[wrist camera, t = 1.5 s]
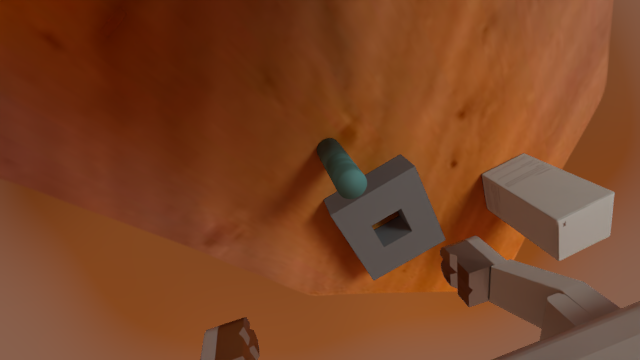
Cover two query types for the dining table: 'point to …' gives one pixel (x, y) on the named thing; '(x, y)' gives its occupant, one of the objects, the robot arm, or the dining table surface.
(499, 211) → the supplement box
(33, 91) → the dining table surface
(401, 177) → the hole block
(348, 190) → the teal peg
